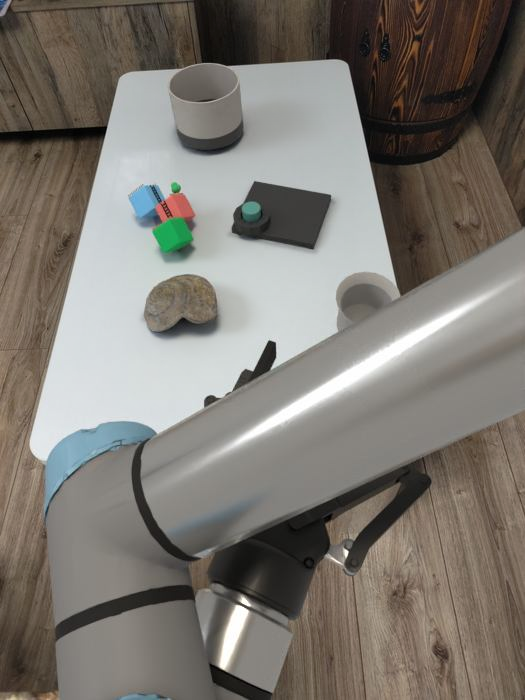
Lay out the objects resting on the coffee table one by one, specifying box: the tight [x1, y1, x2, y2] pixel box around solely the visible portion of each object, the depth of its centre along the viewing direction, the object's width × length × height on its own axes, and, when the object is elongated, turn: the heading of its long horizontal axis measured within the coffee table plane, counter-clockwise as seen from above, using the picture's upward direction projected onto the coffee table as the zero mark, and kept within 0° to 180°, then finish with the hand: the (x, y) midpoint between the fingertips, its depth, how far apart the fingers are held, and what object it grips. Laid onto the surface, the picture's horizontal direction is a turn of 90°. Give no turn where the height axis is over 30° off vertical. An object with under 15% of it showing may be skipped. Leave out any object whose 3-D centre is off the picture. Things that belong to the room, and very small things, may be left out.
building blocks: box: [127, 181, 196, 254], centre depth 81 cm, size 8×8×12 cm
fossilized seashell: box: [143, 273, 218, 333], centre depth 73 cm, size 11×11×7 cm
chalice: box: [335, 271, 401, 332], centre depth 60 cm, size 7×7×18 cm
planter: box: [167, 62, 244, 151], centre depth 93 cm, size 13×13×10 cm
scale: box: [231, 180, 332, 250], centre depth 83 cm, size 14×13×3 cm
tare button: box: [242, 202, 261, 222], centre depth 81 cm, size 3×3×2 cm
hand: (339, 370), depth 47 cm, fingers open, 13 cm apart
